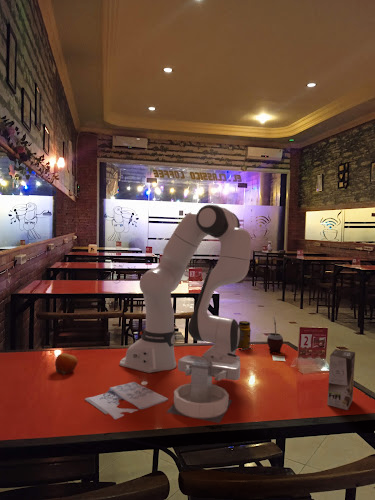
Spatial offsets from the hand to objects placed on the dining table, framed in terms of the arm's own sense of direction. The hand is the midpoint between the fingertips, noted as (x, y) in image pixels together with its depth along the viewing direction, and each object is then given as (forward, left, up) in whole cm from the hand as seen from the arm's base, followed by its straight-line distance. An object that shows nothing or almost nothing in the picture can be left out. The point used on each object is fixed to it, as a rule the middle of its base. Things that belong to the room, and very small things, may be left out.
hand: (202, 375), depth 118 cm
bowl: (0, -1, -9) cm, 9 cm away
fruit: (-55, +7, -10) cm, 56 cm away
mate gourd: (+13, +68, -10) cm, 70 cm away
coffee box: (+40, +21, -10) cm, 47 cm away
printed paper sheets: (-23, -6, -11) cm, 26 cm away
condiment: (-2, +68, -10) cm, 69 cm away
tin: (0, -1, -8) cm, 8 cm away
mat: (0, -1, -10) cm, 10 cm away
